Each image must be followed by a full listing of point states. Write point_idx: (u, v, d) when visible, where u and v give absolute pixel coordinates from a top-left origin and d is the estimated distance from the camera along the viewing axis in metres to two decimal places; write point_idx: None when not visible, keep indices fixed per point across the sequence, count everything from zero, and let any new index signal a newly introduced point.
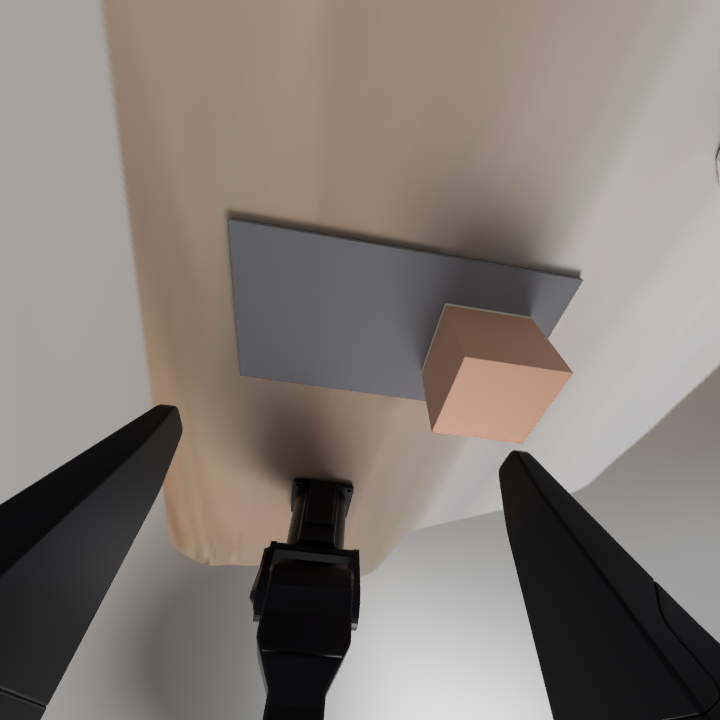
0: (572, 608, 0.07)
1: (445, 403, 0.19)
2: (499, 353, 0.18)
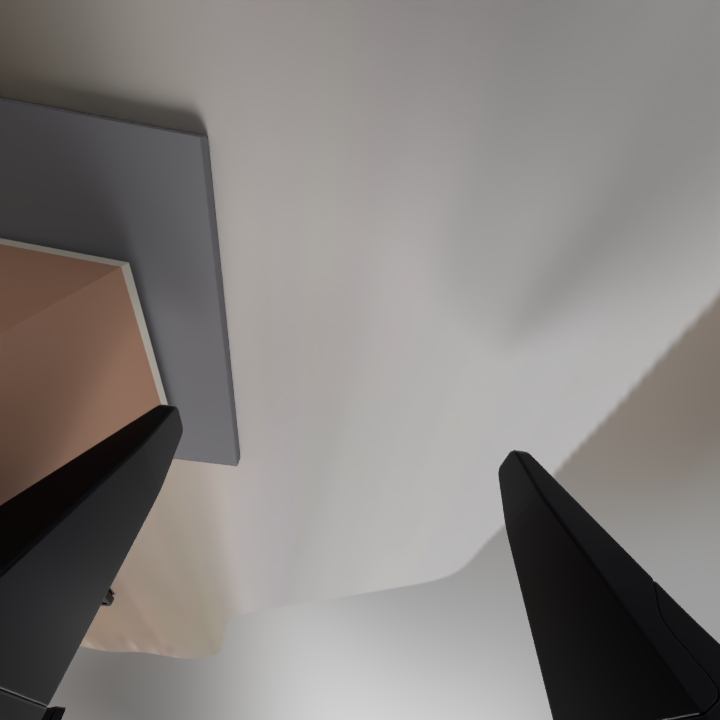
0: (571, 608, 0.07)
1: None
2: None
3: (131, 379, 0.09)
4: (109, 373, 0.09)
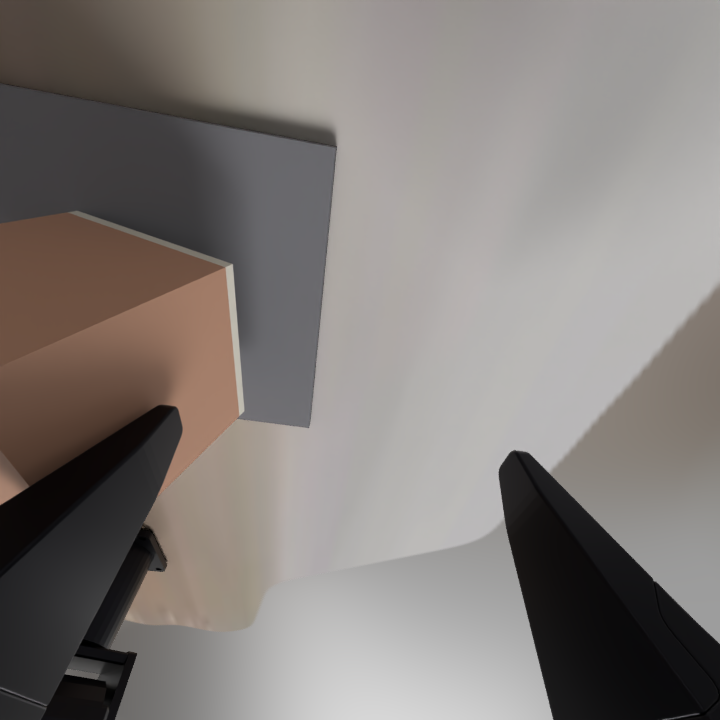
0: (572, 608, 0.07)
1: None
2: None
3: (216, 368, 0.10)
4: (198, 360, 0.09)
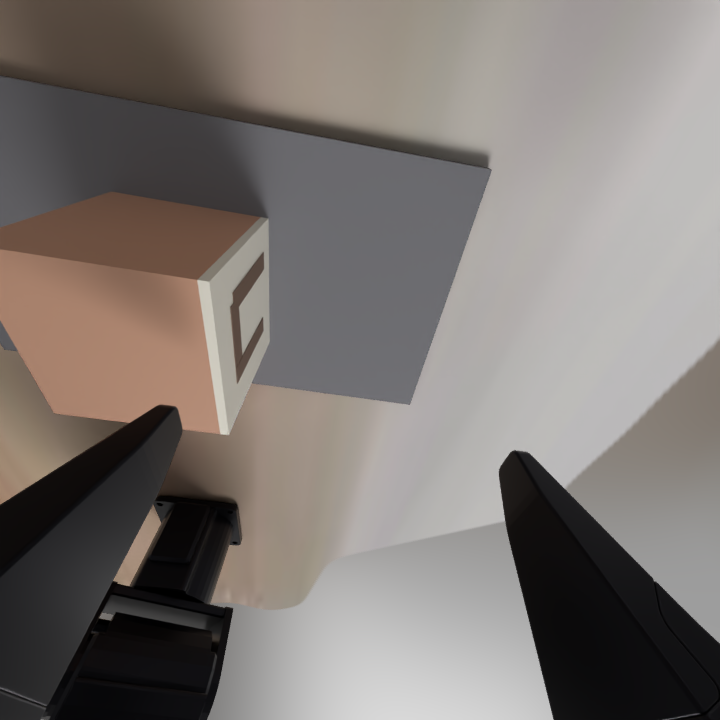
0: (572, 608, 0.07)
1: None
2: (96, 208, 0.11)
3: (184, 368, 0.10)
4: (159, 347, 0.10)
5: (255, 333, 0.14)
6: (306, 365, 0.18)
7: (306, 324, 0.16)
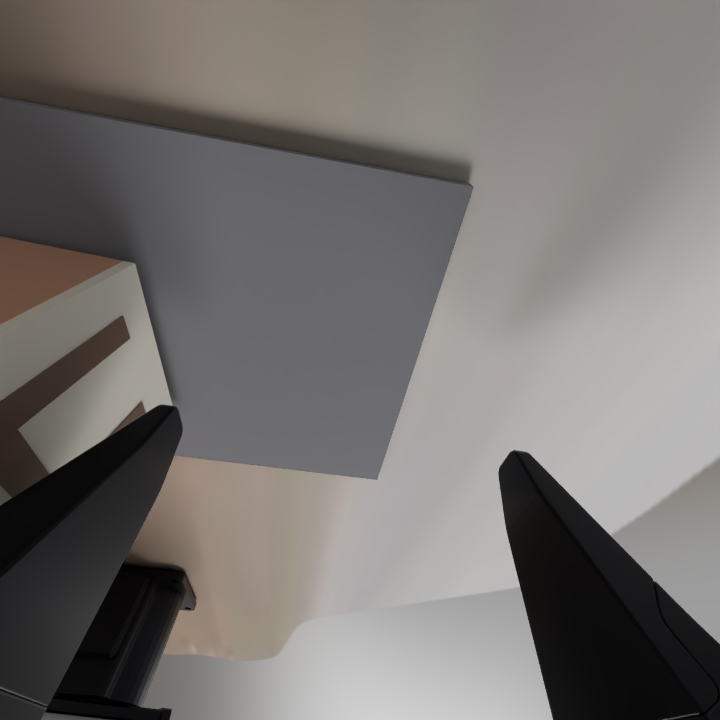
0: (571, 608, 0.07)
1: None
2: None
3: None
4: None
5: None
6: (237, 436, 0.13)
7: (228, 390, 0.12)
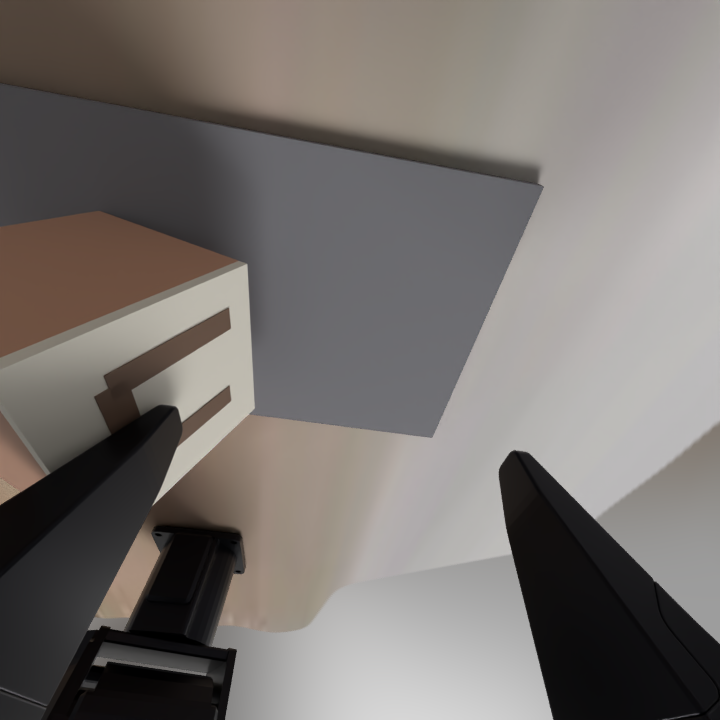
0: (572, 608, 0.07)
1: None
2: (43, 230, 0.09)
3: (26, 464, 0.07)
4: None
5: (202, 409, 0.10)
6: (319, 397, 0.16)
7: (321, 355, 0.14)
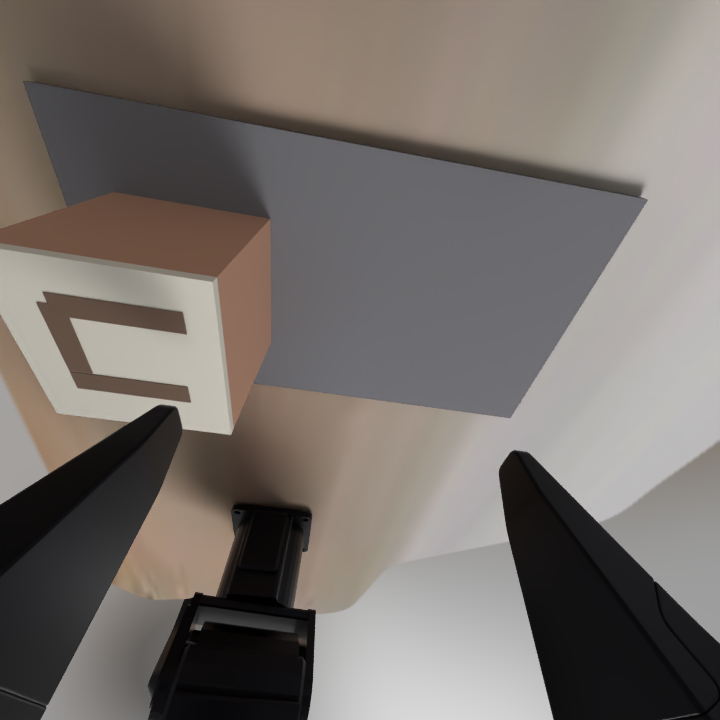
0: (572, 608, 0.07)
1: (270, 296, 0.15)
2: (208, 214, 0.12)
3: None
4: None
5: (149, 384, 0.11)
6: (417, 380, 0.18)
7: (428, 342, 0.17)
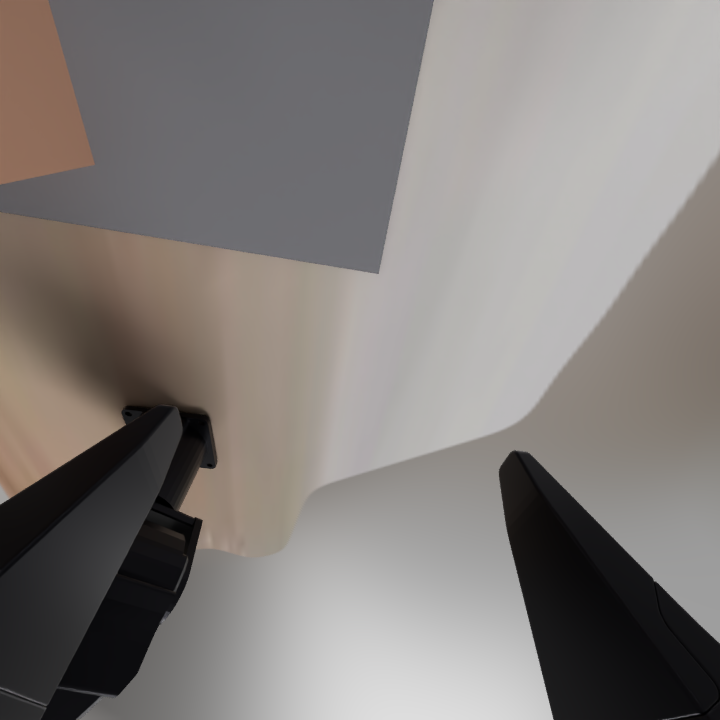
0: (572, 608, 0.07)
1: (74, 95, 0.14)
2: None
3: None
4: None
5: None
6: (266, 220, 0.17)
7: (263, 162, 0.15)
